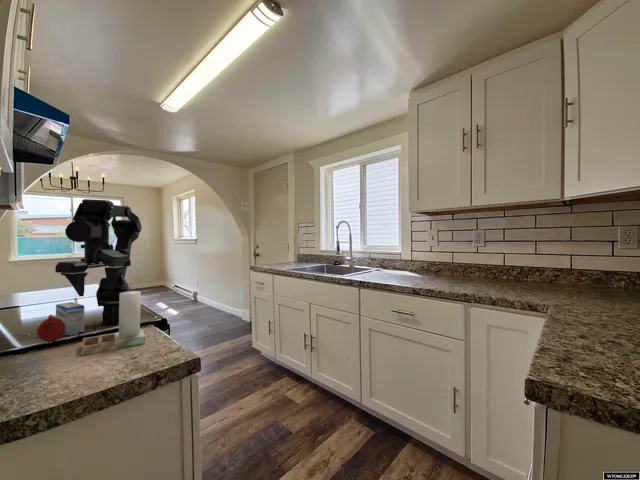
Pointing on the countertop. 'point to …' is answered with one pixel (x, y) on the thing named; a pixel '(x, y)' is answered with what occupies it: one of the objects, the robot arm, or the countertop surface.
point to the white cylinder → (129, 313)
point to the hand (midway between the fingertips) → (97, 292)
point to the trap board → (109, 342)
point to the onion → (51, 329)
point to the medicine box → (71, 317)
